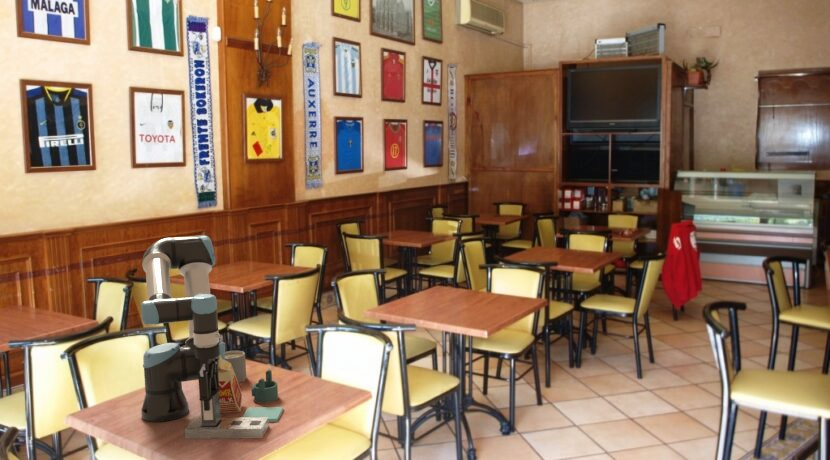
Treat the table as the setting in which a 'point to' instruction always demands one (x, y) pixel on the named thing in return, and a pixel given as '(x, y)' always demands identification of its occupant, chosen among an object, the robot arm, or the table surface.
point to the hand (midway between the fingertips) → (211, 416)
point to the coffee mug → (237, 363)
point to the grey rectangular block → (216, 411)
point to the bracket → (265, 389)
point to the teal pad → (264, 412)
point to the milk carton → (228, 388)
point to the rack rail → (228, 428)
